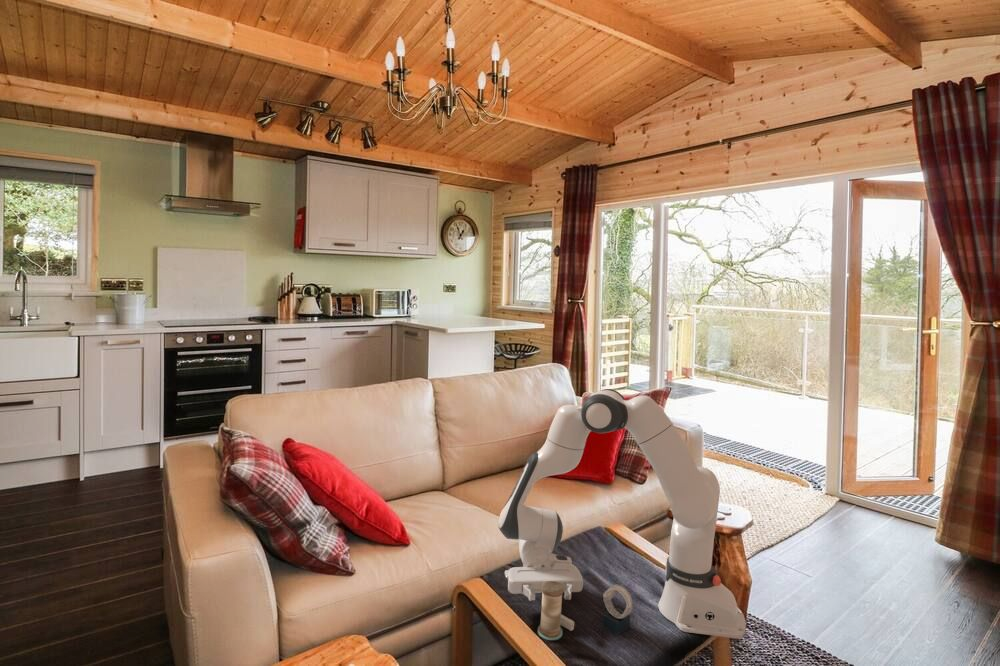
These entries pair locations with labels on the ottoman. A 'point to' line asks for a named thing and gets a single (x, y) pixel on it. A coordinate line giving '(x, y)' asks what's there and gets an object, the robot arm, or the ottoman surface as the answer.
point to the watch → (617, 610)
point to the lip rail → (567, 623)
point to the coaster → (550, 637)
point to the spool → (551, 609)
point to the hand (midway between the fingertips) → (550, 597)
